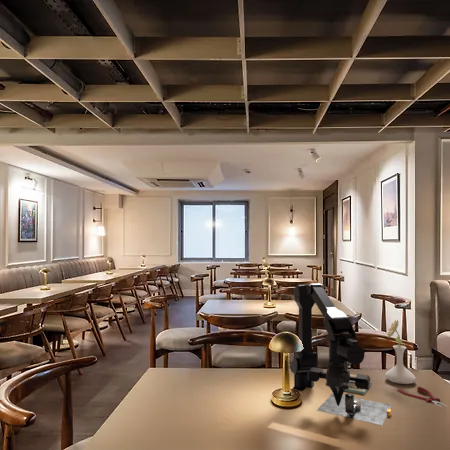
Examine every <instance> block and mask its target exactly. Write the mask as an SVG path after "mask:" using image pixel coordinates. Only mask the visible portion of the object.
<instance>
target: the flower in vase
mask: <svg viewBox="0 0 450 450" xmlns="http://www.w3.org/2000/svg"><path fill="white" fill-rule="evenodd" d="M399 322H400V321H399V319H395V320H394V321H393V322H391V326H390V328H388V329H387V330H388V332H387V334H386V336H387V338H391V337H392V336H393V335H394V334H395V333H396V334H397V336H396V338H395V341H396V343H397V344H396V345H392V347H393V349H394V351H395V355H396V364H395V366H393V367H391V368H390V369H389V370H387V371H386V373H385V374H384V377H385V379H386V380H388V381H390V382H392V383H395V384H399V385H409V384H414V383H415V382H416V380H417V377H416V376H415V375H414V374H413V373H412V372H411V371H410V370H409V369H408V368H406V366H405V365H404V353H405V352H406V351H405V350H406V349H407V347H406V346H405V345H401V344H403V340H402V339H401V337H400V334H399V331H398V330H397V329H398V326H399V324H400V323H399Z"/></svg>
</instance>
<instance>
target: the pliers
mask: <svg viewBox="0 0 450 450" xmlns="http://www.w3.org/2000/svg"><path fill="white" fill-rule="evenodd" d="M416 389H417V393H420V394H422V395H423V396H420V395H416V394H412V393H408V392H406V391H404V390H402V389H400V388H398V389H396V392H399V393H400V394H401V395H404V396H407V397H411V398H414V399H418V400H422V401H425V402H426V403H428V404H434V405H435V406H438V407H439V408H440V407H441V408H442V407H448V406H447V405H446V404H444V403H442V402H441V399H440V398H438V397H434V395H433V393H432V392H431V391H430V390H429V389H427V388H424V387H422V386H417V388H416ZM424 396H425V397H424Z"/></svg>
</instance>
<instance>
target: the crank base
mask: <svg viewBox="0 0 450 450" xmlns="http://www.w3.org/2000/svg"><path fill="white" fill-rule="evenodd" d="M354 399H357V400H359V401H361V408H360V409H356V410H355V412H354V413H353V415H352V414H347V413H346V412H345V394H343V396H342V399H341V402H340V405H339V406H337V403H336V400H335V397H334V394H333V392H332V393H331V394H330V396H329V397H327V399H326V400H325V401H324V402H323V403H322V404H321V405H320V406H319V407H318V408H317V410H316V411H318V412H322V413H326V414H332V415H335V416H339V417H344V418H349V419H353V420H358V421H362V422H366V423H369V424H375V425H379V426H383V425H384V423H385V420H386V419H387V417H389V418H391V417H392V406H393V404H387V403H383V402H377V401H374V400H367V399H363V398H358V397H354Z"/></svg>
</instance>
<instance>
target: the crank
mask: <svg viewBox="0 0 450 450" xmlns="http://www.w3.org/2000/svg"><path fill="white" fill-rule="evenodd" d="M344 396H345V412H346V413H347V414H352V415H353V413H354V412H355V410H356V409H360V408H361V401H359V400H357V399H354V398H355V395H354V393H351V392H348V393H344Z"/></svg>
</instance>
